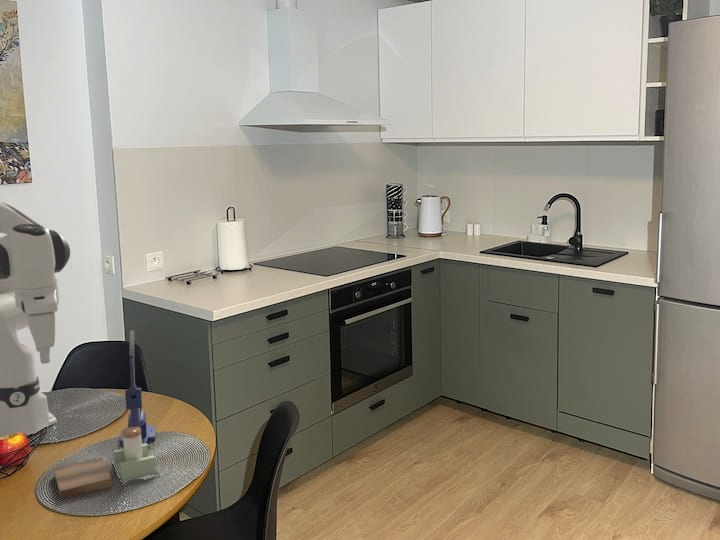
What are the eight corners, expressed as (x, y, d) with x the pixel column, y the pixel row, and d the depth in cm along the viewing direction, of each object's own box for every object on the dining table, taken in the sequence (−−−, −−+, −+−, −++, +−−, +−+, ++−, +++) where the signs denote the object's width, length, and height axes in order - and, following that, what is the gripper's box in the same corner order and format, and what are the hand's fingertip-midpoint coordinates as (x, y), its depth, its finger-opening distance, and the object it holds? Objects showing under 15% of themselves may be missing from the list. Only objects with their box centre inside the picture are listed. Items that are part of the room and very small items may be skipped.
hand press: (155, 453, 176) (148, 349, 170) (119, 457, 173) (111, 352, 168) (155, 423, 193) (148, 328, 188) (122, 427, 191) (115, 331, 185)
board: (54, 477, 163) (53, 468, 163) (102, 466, 169) (102, 457, 168) (61, 501, 153) (60, 491, 153) (112, 488, 159) (111, 478, 158)
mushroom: (123, 463, 167) (120, 429, 165) (141, 459, 169) (138, 425, 168) (127, 471, 164) (124, 436, 162) (146, 466, 166) (142, 432, 164)
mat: (110, 462, 171) (110, 461, 170) (147, 454, 175) (147, 453, 175) (122, 488, 159) (122, 486, 159) (161, 478, 163) (161, 476, 163)
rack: (114, 464, 169) (112, 449, 168) (146, 456, 173) (145, 442, 172) (122, 482, 161) (121, 466, 160) (156, 473, 164) (155, 458, 164)
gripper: (17, 289, 160) (23, 346, 162) (25, 309, 142) (31, 372, 145) (47, 286, 163) (52, 342, 166) (58, 305, 145) (63, 367, 148)
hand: (43, 356), depth 155 cm, fingers open, 8 cm apart
